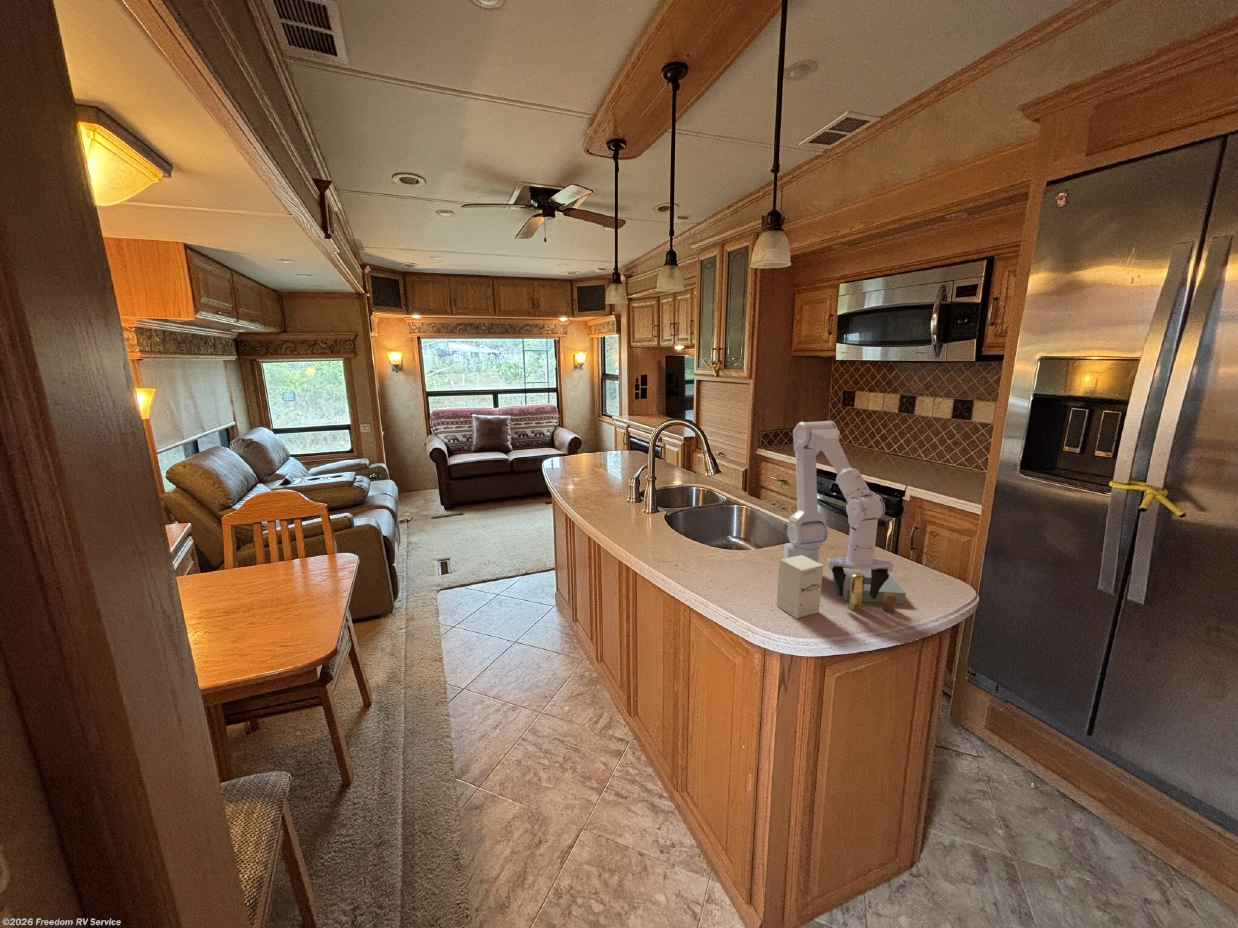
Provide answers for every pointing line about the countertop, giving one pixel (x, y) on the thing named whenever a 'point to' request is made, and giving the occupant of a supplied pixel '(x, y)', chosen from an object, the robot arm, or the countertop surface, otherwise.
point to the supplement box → (799, 586)
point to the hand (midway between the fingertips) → (856, 595)
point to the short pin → (889, 602)
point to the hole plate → (888, 586)
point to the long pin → (856, 592)
